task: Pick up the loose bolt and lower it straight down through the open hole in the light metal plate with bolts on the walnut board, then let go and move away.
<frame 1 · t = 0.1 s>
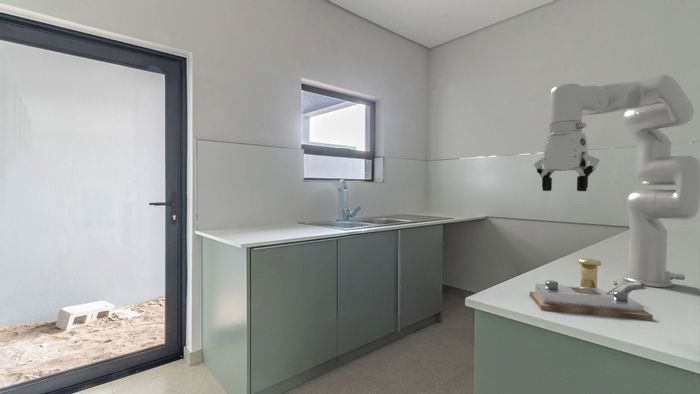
hand: (563, 191, 93), 31 cm above the counter, tool pointing down, fingers open, 9 cm apart
bolt: (588, 292, 100), on the counter
adjustable wrench: (617, 292, 103), on the counter
board: (584, 306, 88), on the counter
metal plate with bolts: (585, 293, 88), on the board, point 4 cm above the counter
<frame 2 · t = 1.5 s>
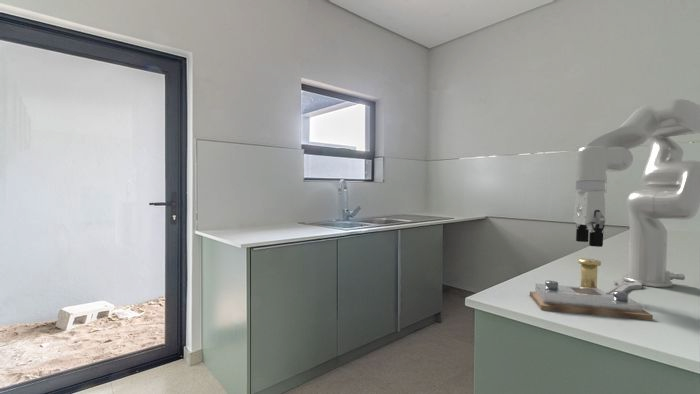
hand: (588, 243, 100), 15 cm above the counter, tool pointing down, fingers open, 9 cm apart
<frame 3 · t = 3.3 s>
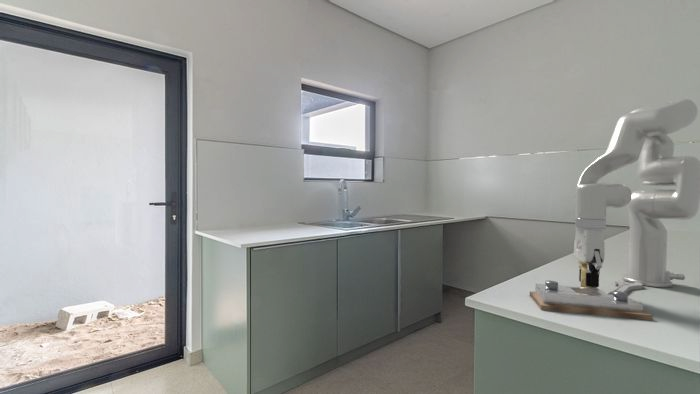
hand: (588, 283, 100), 3 cm above the counter, tool pointing down, fingers closed on bolt, 4 cm apart
bolt: (588, 292, 100), on the counter, touching gripper
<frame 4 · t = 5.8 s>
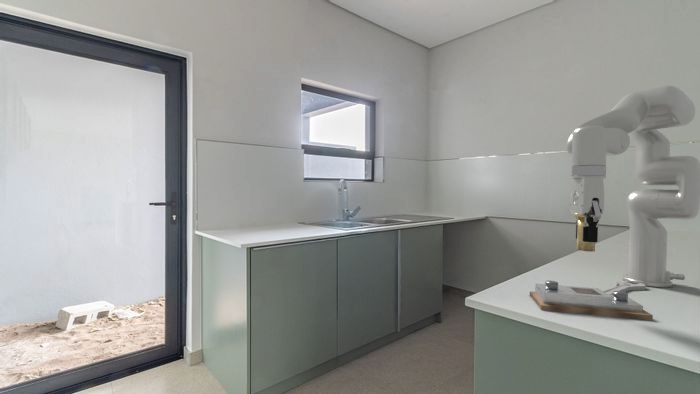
hand: (586, 239, 89), 18 cm above the counter, tool pointing down, fingers closed on bolt, 4 cm apart
bolt: (585, 250, 89), point 15 cm above the counter, touching gripper
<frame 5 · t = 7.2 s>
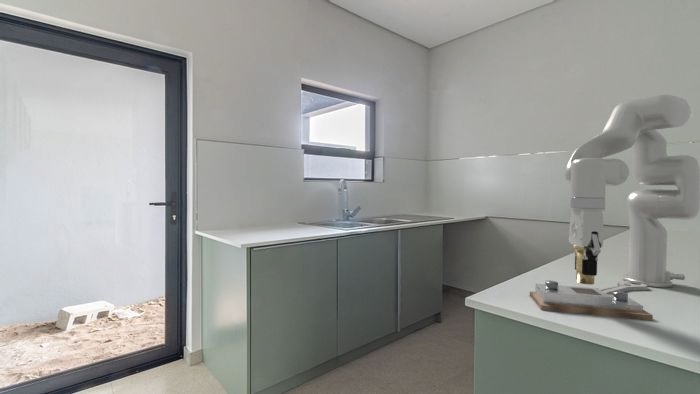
hand: (585, 272, 88), 9 cm above the counter, tool pointing down, fingers closed on bolt, 4 cm apart
bolt: (584, 282, 88), point 7 cm above the counter, touching gripper
when the fingers open (5 cm above the counter, at t = 8.3 s): bolt drops 1 cm, resting on board.
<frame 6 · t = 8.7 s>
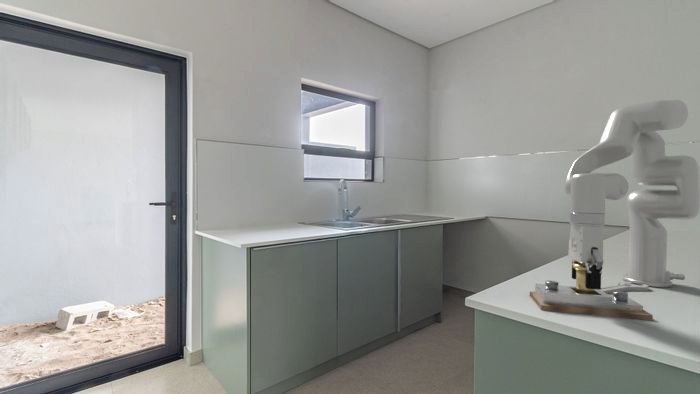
hand: (585, 283, 88), 6 cm above the counter, tool pointing down, fingers open, 8 cm apart
bolt: (584, 301, 89), point 1 cm above the counter, touching board
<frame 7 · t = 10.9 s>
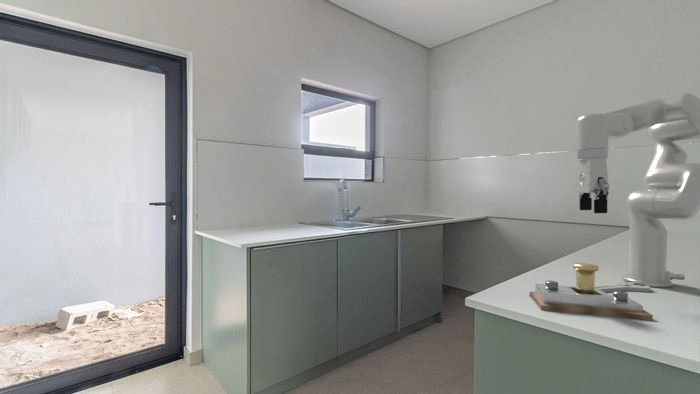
hand: (592, 211, 101), 25 cm above the counter, tool pointing down, fingers open, 9 cm apart
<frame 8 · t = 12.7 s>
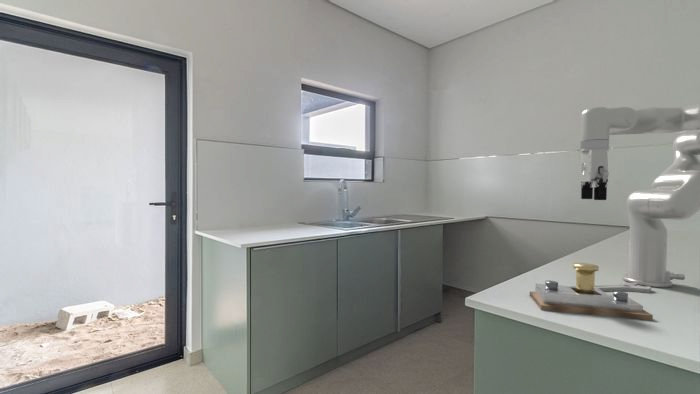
hand: (593, 199, 107), 28 cm above the counter, tool pointing down, fingers open, 9 cm apart
at the end: bolt 0.2 cm off-centre on the metal plate with bolts, point 1.2 cm above the metal plate with bolts's base; bolt tilted 0°; the gripper is holding nothing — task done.
